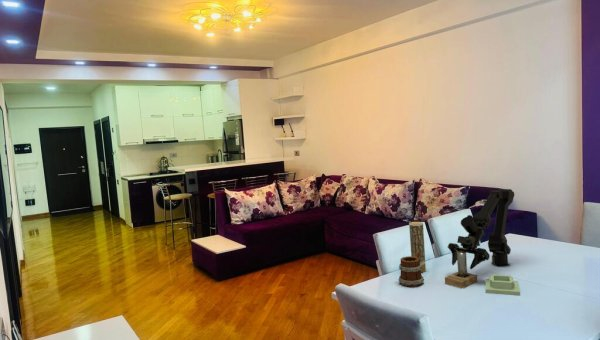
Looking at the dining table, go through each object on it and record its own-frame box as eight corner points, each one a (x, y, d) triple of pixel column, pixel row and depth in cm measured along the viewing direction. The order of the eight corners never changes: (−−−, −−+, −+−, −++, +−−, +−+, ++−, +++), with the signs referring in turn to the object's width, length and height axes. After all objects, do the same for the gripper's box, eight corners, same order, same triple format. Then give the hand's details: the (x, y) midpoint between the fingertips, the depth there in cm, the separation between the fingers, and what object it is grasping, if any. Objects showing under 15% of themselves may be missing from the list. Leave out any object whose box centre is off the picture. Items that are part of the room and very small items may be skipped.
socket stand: (485, 282, 188) (485, 272, 188) (517, 284, 183) (517, 274, 182) (485, 292, 176) (485, 282, 176) (519, 295, 171) (519, 284, 171)
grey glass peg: (465, 279, 193) (463, 250, 192) (469, 282, 189) (467, 253, 188) (457, 280, 193) (455, 251, 192) (460, 283, 189) (459, 254, 188)
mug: (393, 284, 193) (393, 253, 194) (406, 280, 204) (407, 250, 205) (416, 289, 186) (416, 256, 187) (429, 284, 196) (429, 253, 197)
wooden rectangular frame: (459, 277, 197) (459, 270, 197) (477, 281, 190) (477, 275, 190) (445, 283, 190) (444, 277, 190) (462, 288, 183) (462, 282, 183)
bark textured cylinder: (426, 273, 206) (423, 224, 204) (412, 273, 208) (409, 224, 206) (425, 268, 213) (422, 221, 211) (411, 268, 214) (408, 222, 212)
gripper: (448, 226, 199) (436, 253, 194) (485, 231, 184) (472, 261, 179) (458, 239, 205) (446, 266, 199) (495, 245, 189) (483, 274, 184)
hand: (461, 266), depth 190 cm, fingers open, 9 cm apart
